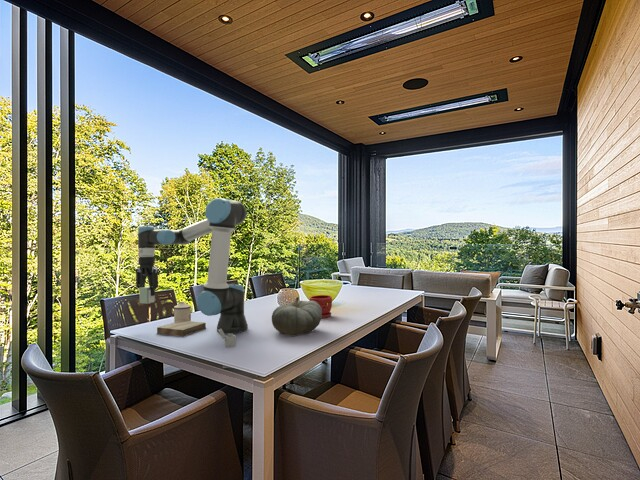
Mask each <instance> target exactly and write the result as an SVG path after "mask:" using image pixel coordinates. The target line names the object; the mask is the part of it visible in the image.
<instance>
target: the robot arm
mask: <svg viewBox="0 0 640 480" xmlns="http://www.w3.org/2000/svg"><path fill="white" fill-rule="evenodd" d="M247 212H248V211H247V208H246V207H245V205H244V204H243V203H242V202H241V201H238V200H233V199H229V198H221V197H217V198H213V199H212V200H210V201H209V202H208V203H207V205H206V206H205V212H204V213H205V214H204V215H205V217H206V218H205V219H203V220H200V221H197V222H195V223H194V224H191V225H188V226H185V227H183V228H181V229H175V230H174V229H169V228H167V229H165V228H164V229H155V226H150V225H144V226H142V225H141V226H139V227H138V231H137V243H138V244H137V245H138V246H137V247H138V253H137V254H138V264H139V268H135V270H134V272H135V287H136V288H137V289H139V287H146V281H147V282H148V286H149V287H150V289H149V303H148V304H152V303H151V302H153V303H155V302H154V295H155V296H156V289H157V288H159V268H155V264H156V257H155V255H156V251H155V250H156V249H155V247H156V246H157V245H161V246H162V245H164V246H165V245H167V246H168V245H183V246H185V245H188V244H190V243H191V242H192V241H193V240H196V239H199V238H201V237H204V236H206V235H209V234H211V241H210V249H209V250H210V251H209V260H208V262H209V263H208V271H207V281H206V282H205V283H204V284H203V287H202V288H203V289H202V291H201V292H200V293H199V294H198V295H197V297H196V304H197V305H196V306H197V308H198V310H199V311H200V313H202V314H203V315H204V316H208V317H212V316H218V315H220V316H219V320H218V323H217V325H216V332H217V333H219V331H218V330H219V329H220V328H221V329H222V330H223V332H224V334H231V333H232V334H239V333H242V332H247V330H248V328H249V327H248V326H249V324H248V321H247V318H246V315H245V288H244V286H243V285H242V284H230V283H229V284H228V283H227V281H228V279H227V278H228V270H229V269H228V268H229V260H230V258H229V257H230V250H231V237H232V232H233V231H234V230H236V226H238V225H241V224H242V223H243V222H244V221H245V220H246V218H247ZM152 286H153V287H152Z"/></svg>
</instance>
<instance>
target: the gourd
mask: <svg viewBox="0 0 640 480" xmlns="http://www.w3.org/2000/svg"><path fill="white" fill-rule="evenodd" d="M299 298H300V297H296V298H295V300H294V301H293V302H291V303H289V304H282V305H279V306H277V307H276V308H275V309H274V310H273V312H272V313H271V324H272V326H273V328H274V329H275V330H276V331H277V332H278V333H280V334H282V335H288V336H291V337H295V336H298V335H302V334H303V335H305V334H308V333H311V332H313V331H314V330H315V329H316V328H317V327H318V326H319V325H320V323H321V320H322V319H323V318H322V309H321V307H320V305H319V304H318V303H317V302H316V301H310V300H299Z"/></svg>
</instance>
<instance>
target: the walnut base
mask: <svg viewBox="0 0 640 480" xmlns="http://www.w3.org/2000/svg"><path fill="white" fill-rule="evenodd" d="M206 327H207V326H206V322H202V321H192V320H191V321H178V322H174V321H173V322H172V323H168V324H164V325H161V326H157V328H156V334H157V335H167V336H176V337H177V336H178V337H186V336H187V335H191V334H194V333H197V332H200V331H204V330H205V329H206Z"/></svg>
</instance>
